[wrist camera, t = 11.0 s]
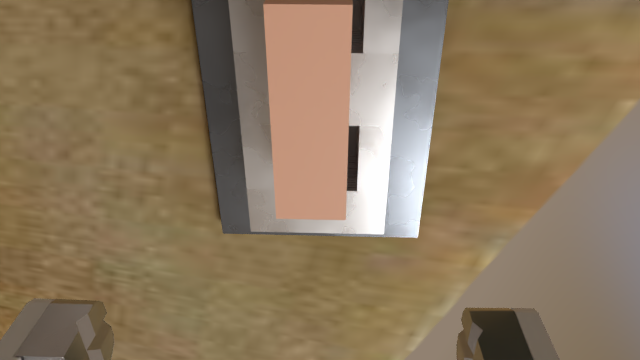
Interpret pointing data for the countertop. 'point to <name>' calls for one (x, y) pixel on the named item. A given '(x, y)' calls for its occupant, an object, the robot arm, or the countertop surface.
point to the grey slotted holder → (364, 115)
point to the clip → (309, 105)
